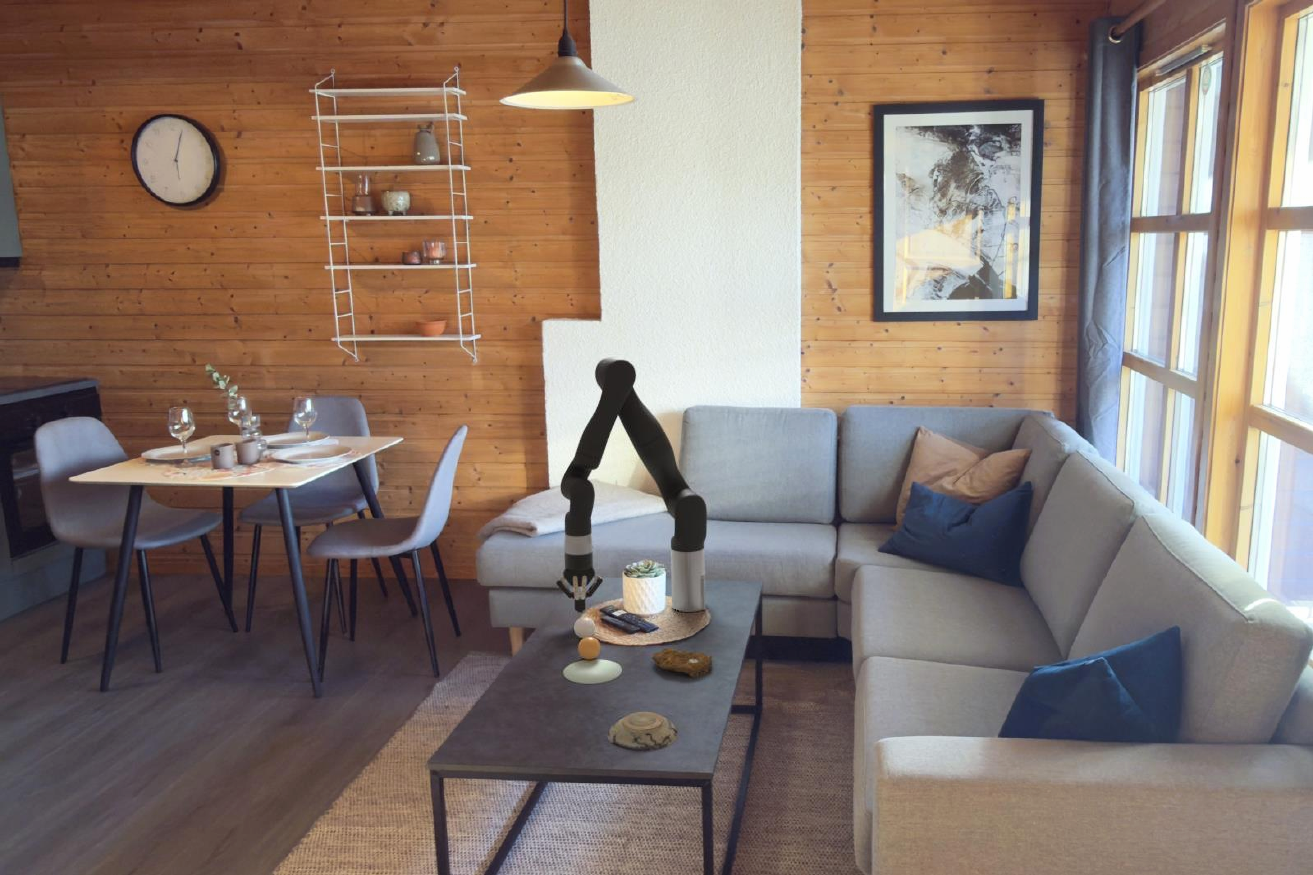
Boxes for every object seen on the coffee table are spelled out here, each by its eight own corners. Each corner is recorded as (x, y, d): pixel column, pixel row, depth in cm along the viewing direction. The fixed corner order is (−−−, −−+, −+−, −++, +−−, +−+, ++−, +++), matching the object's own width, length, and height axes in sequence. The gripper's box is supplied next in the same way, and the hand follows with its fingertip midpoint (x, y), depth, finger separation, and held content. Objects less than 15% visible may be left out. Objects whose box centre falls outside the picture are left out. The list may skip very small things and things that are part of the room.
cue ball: (596, 633, 275) (595, 613, 274) (594, 641, 270) (594, 621, 269) (575, 634, 276) (574, 614, 275) (573, 641, 270) (572, 621, 269)
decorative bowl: (600, 726, 225) (616, 758, 210) (599, 710, 224) (615, 740, 210) (667, 717, 229) (687, 747, 214) (667, 701, 228) (687, 730, 214)
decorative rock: (643, 676, 250) (704, 685, 245) (643, 660, 249) (704, 669, 244) (658, 655, 260) (716, 664, 256) (658, 640, 259) (716, 648, 255)
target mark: (623, 659, 258) (623, 658, 258) (620, 683, 244) (620, 682, 244) (566, 660, 258) (566, 659, 258) (560, 684, 245) (560, 683, 245)
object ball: (601, 654, 262) (600, 633, 261) (599, 663, 256) (599, 641, 255) (579, 654, 262) (578, 633, 261) (577, 663, 257) (576, 641, 256)
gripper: (602, 544, 283) (603, 605, 286) (552, 546, 281) (554, 608, 285) (604, 552, 276) (605, 615, 279) (554, 554, 274) (555, 618, 277)
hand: (579, 611), depth 282 cm, fingers closed
